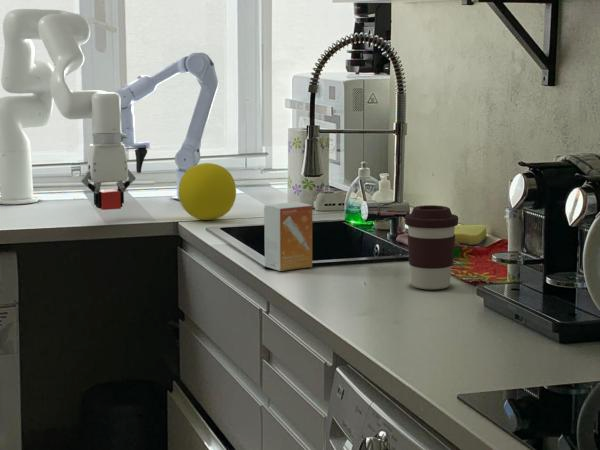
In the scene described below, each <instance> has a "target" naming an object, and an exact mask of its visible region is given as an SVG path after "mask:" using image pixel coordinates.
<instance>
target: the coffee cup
mask: <svg viewBox="0 0 600 450" xmlns="http://www.w3.org/2000/svg"><path fill="white" fill-rule="evenodd" d="M404 225H406V226H407V227H408V228H407V230H408V233H407V251H408V253H407V254H408V264H409V265H410V267H409V268H410V282H411V286H413V287H414V288H416V289H421V290H431V291H432V290H442V289H443V290H444V289H446V288H448V287H450V285H451V279H452V266H453V265H454V255H455V244H456V243H455V242H456V235H455V229H456V228H455V227H456V226H458V225H459V216H458V215H456V214H453V213H452V211H451V208H450V207H448V206H444V205H437V204H436V205H434V204H433V205H431V204H429V205H426V204H425V205H418V206H414V207H413V208H412V210H411V213H408V214H406V215H405V216H404Z"/></svg>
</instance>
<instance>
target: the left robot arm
mask: <svg viewBox="0 0 600 450" xmlns="http://www.w3.org/2000/svg"><path fill="white" fill-rule="evenodd" d="M2 34H3V40H4V49H3V59H2V69H1V79H0V80H1V87H2V89H3V90H4V91H5V92H7V93H9V94H18V95H8V96H3V97H0V205H25V204H26V205H27V204H33V203H38V202H39V201H40V197H39V196H38V195H34V181H33V162H32V144H31V140H30V138H29V136H27V134H26V132H25V131H24V129H27V128H39V127H44V126H47V125H48V124H49V123H50V121H51V119H52V114H53V107H54V104H55V106H56V107H57V110H58V111H59V114H61V116H62V117H64V118H65V119H67V120H84V119H91V125H92V143H91V144H89V146H88V153H87V167H86V168H87V169H86V170H87V171H86V172H85V173H84V175H83V176H82V177H81V179H80V183H81V184H83V185H84V186H86V187H87V188H88V189H89V190H90V191H91V192H92V193H93V204H94V206H95V208H97V209H99V210H101V209H100V208H101V194H100V191H99V190H101V187H102V183H115V184H116V190H118V191H120V197H121V208H123V204H124V203H125V193H124V192H126V189H127V188H129V187H130V185H131V184H133V183H134V182H135V180H136V176H135V175H134V174H133V172H132V171H131V170H130V169H129V167H128V166H129V165H128V158H127V152H126V150H125V148H126V147H124V144H122V141H123V140H124V139H127V135H126V134H122V132H121V100H120V96H119V94H117V93H115V91H106V90H102V89H101V90H100V89H99V90H98V89H95V90H94V89H90V90H89V89H87V90H85V89H84V90H71V88H70V87H69V85H68V83H67V81H66V77H67V76H70V75H71V74H73V73H75V72H76V71H78V70H79V69H80V68H81V67H82V66H83V65H84V63H85V54H84V52H83V50H82V48H81V47H80V45H84V44H86V43H87V42H88V41H89V40H90V37H91V27H90V24H89V21H87V19H86V17H84V16H83V15H82V14H79V13H74V12H71V11H66V10H61V9H41V8H40V9H38V8H18V9H12V10H9V11H8V12H7V13H6V14H5V16H4V18H3V22H2ZM33 40H38V41H39V40H41V41H42V43H43V45H44V47H45V49H46V52H47V54H48V56H49V58H50V60H51V62H52V63H53V66H54V67H53V66H52V65H51V63H49V62H48V61H45V60H35V54H36V53H35V51H36V49H35V45H34V43H33ZM19 94H20V95H19ZM21 94H32V95H21ZM91 181H92V182H93V183H91Z"/></svg>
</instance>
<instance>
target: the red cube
mask: <svg viewBox="0 0 600 450" xmlns="http://www.w3.org/2000/svg"><path fill="white" fill-rule="evenodd" d="M99 191H100V194H101V208H100V209H99V210H102V211H106V210H121V209H122V207H121V197H120V191H118V190H117V188H107V189H100V190H99Z"/></svg>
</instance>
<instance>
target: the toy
mask: <svg viewBox="0 0 600 450" xmlns="http://www.w3.org/2000/svg"><path fill="white" fill-rule="evenodd" d="M236 197H237V187H236V182H235V180H234V177H233V175H232V174H231V173H230V171H228V169H226V168H225V167H224V166H222V165H219V164H218V163H211V162H203V163H198V164H197V165H195V166H193V167H191V168H190V169H188V170H187V171H186V172H185V173H184V175H183V176H182V178H181V181H180V184H179V198H180V200H179V202H180V204H181V206H182V208H183V209H184V211H185V212H186V213H187V214H188V215H190V216H191V217H193V218H195V219H197V220H203V221H210V220H211V221H212V220H216V219H217V220H218V219H219V218H222V217H224V216H225V215H227V214H228V213H229V212H230V211H231V209H232V208H233V206H234V204H235V201H236Z"/></svg>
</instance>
